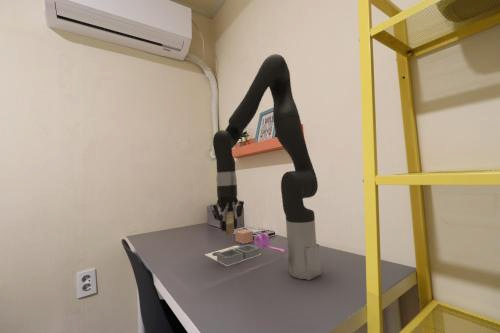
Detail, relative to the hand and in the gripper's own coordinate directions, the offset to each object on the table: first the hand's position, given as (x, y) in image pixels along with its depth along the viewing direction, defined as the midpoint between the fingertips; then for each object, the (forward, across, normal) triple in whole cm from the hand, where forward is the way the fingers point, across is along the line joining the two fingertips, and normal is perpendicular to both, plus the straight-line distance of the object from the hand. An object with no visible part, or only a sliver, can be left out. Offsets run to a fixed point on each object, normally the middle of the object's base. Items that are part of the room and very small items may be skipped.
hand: (228, 229), depth 87 cm
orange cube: (+13, -18, -16) cm, 27 cm away
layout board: (+13, -4, -4) cm, 14 cm away
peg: (+1, 0, 0) cm, 1 cm away
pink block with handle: (+13, -19, +1) cm, 23 cm away
